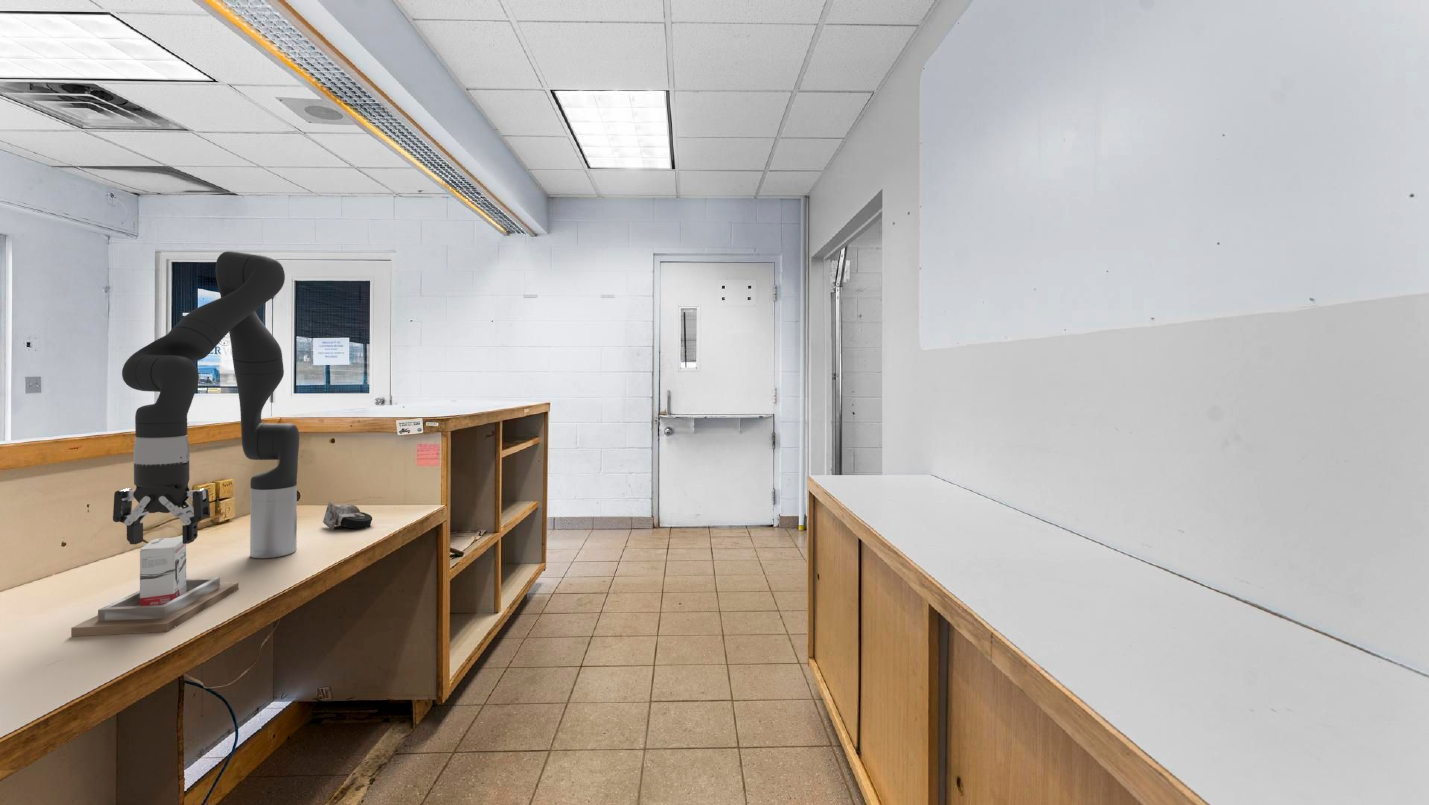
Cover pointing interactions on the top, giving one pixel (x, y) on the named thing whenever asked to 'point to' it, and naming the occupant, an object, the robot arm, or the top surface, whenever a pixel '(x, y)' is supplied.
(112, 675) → the top surface
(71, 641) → the top surface
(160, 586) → the ink box
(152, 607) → the locator board
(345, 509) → the caster wheel
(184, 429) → the robot arm
